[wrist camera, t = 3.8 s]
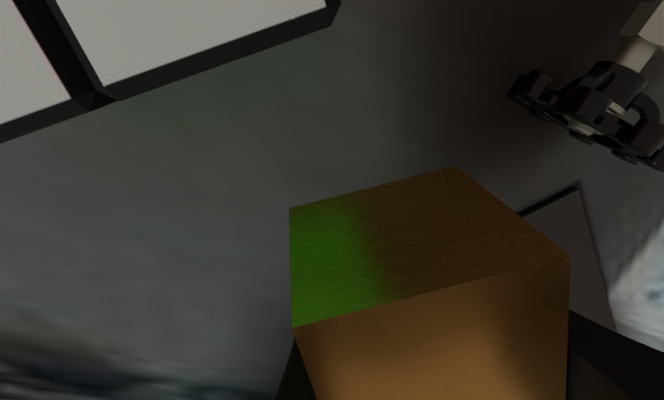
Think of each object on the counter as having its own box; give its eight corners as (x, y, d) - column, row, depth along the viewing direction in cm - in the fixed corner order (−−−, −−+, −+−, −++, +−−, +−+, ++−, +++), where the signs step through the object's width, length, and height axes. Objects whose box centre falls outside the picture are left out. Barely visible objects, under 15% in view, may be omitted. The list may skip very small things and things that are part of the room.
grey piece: (471, 475, 30) (509, 567, 25) (357, 295, 22) (378, 375, 17) (632, 405, 29) (708, 486, 23) (573, 186, 21) (668, 237, 15)
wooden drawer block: (475, 362, 15) (566, 520, 10) (346, 395, 15) (375, 571, 10) (455, 165, 11) (578, 261, 7) (289, 208, 11) (292, 336, 7)
